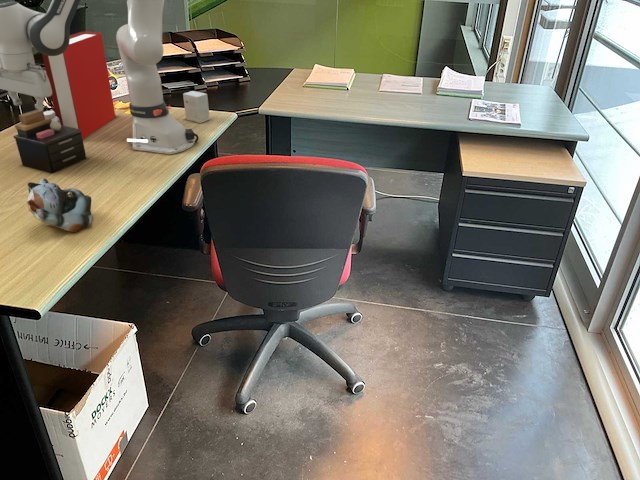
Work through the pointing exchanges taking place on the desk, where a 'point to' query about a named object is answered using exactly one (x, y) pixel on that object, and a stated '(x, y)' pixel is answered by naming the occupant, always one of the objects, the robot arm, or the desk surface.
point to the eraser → (45, 133)
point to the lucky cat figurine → (59, 206)
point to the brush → (32, 123)
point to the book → (81, 83)
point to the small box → (196, 106)
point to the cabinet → (52, 150)
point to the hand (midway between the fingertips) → (28, 107)
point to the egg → (55, 125)
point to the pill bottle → (51, 116)
